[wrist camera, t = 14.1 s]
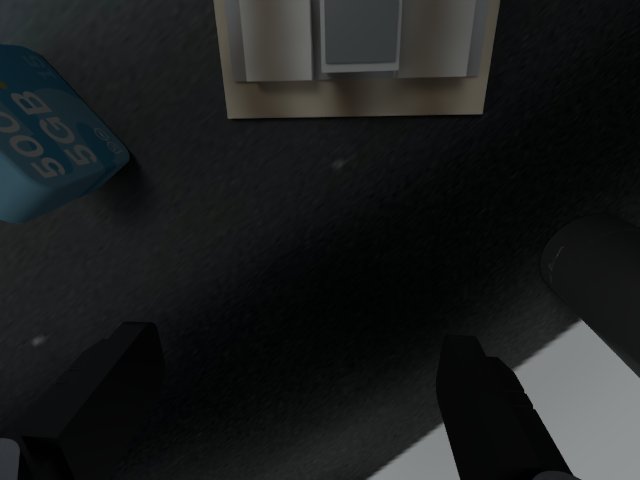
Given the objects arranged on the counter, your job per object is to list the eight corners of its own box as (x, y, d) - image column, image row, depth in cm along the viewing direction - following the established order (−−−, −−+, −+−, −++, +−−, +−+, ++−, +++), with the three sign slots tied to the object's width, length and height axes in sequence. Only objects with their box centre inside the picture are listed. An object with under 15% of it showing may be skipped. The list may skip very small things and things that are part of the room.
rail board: (515, -131, 25) (547, -169, 21) (478, 112, 32) (497, 118, 28) (203, -115, 26) (179, -147, 22) (231, 117, 33) (216, 123, 29)
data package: (137, 157, 35) (45, 195, 24) (107, 184, 36) (8, 231, 25) (33, 45, 31) (-131, 30, 20) (4, 79, 33) (-164, 82, 22)
